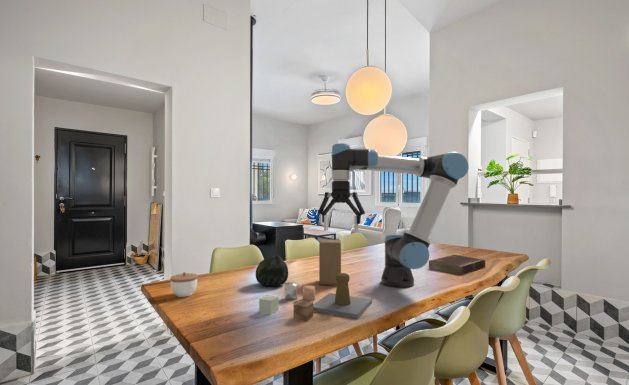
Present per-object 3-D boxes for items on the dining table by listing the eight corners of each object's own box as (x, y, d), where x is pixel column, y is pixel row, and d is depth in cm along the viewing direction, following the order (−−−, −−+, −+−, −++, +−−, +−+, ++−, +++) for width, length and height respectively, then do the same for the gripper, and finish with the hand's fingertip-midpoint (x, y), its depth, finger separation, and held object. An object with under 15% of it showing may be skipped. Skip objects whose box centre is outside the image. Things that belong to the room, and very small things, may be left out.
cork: (333, 300, 126) (333, 271, 126) (349, 300, 126) (349, 271, 126) (335, 305, 120) (335, 275, 120) (352, 305, 120) (352, 275, 120)
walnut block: (313, 316, 113) (313, 302, 113) (306, 321, 109) (306, 306, 109) (300, 314, 115) (300, 300, 115) (293, 319, 111) (293, 304, 111)
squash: (251, 269, 159) (257, 250, 150) (281, 268, 165) (288, 249, 156) (256, 295, 149) (262, 276, 140) (287, 293, 155) (295, 274, 146)
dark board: (372, 303, 127) (372, 299, 127) (357, 318, 111) (357, 314, 111) (329, 296, 135) (329, 293, 135) (310, 310, 119) (310, 306, 119)
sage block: (278, 310, 119) (278, 296, 119) (271, 315, 115) (271, 300, 115) (267, 308, 121) (267, 294, 121) (259, 312, 117) (259, 298, 117)
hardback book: (461, 275, 171) (461, 266, 171) (428, 269, 186) (428, 260, 186) (485, 267, 190) (485, 259, 190) (454, 262, 204) (454, 254, 204)
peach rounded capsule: (317, 298, 132) (317, 286, 132) (311, 302, 128) (311, 289, 128) (306, 297, 135) (306, 284, 135) (300, 300, 130) (300, 288, 130)
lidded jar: (191, 289, 145) (191, 268, 145) (202, 294, 138) (202, 272, 138) (166, 294, 138) (166, 272, 138) (176, 300, 130) (176, 277, 130)
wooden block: (341, 280, 161) (341, 239, 161) (340, 285, 151) (340, 242, 151) (320, 279, 162) (320, 239, 162) (319, 285, 152) (319, 242, 152)
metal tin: (299, 297, 134) (299, 283, 134) (293, 301, 129) (293, 286, 129) (288, 296, 136) (288, 281, 136) (282, 299, 131) (282, 284, 131)
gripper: (372, 180, 136) (372, 231, 136) (317, 181, 147) (317, 228, 147) (367, 179, 129) (367, 233, 129) (310, 181, 140) (310, 230, 140)
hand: (340, 231), depth 138 cm, fingers open, 13 cm apart
